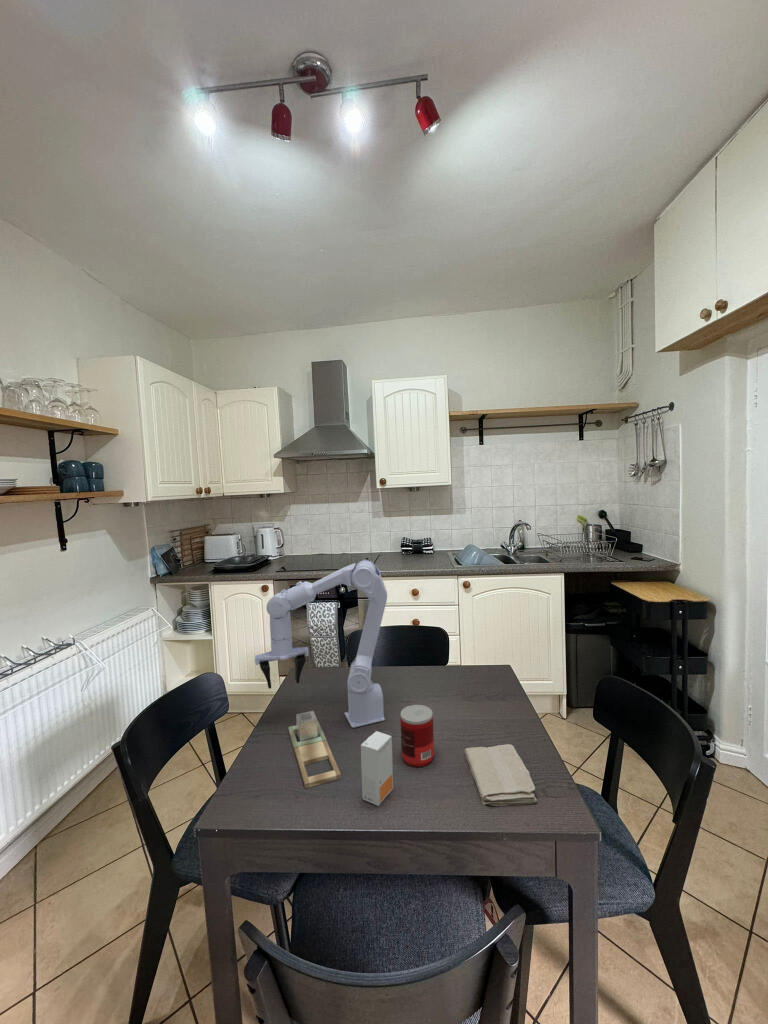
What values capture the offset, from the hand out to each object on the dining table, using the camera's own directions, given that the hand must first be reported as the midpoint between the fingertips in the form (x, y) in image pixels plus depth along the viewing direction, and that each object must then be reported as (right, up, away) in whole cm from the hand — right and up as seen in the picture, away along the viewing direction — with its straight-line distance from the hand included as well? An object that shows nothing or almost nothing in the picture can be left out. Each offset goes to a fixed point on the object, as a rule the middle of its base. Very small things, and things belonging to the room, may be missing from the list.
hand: (283, 684), depth 122 cm
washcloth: (+53, -11, -26) cm, 60 cm away
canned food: (+36, -11, -18) cm, 42 cm away
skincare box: (+27, -12, -30) cm, 42 cm away
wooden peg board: (+10, -11, -15) cm, 21 cm away
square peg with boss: (+8, -11, -9) cm, 16 cm away
